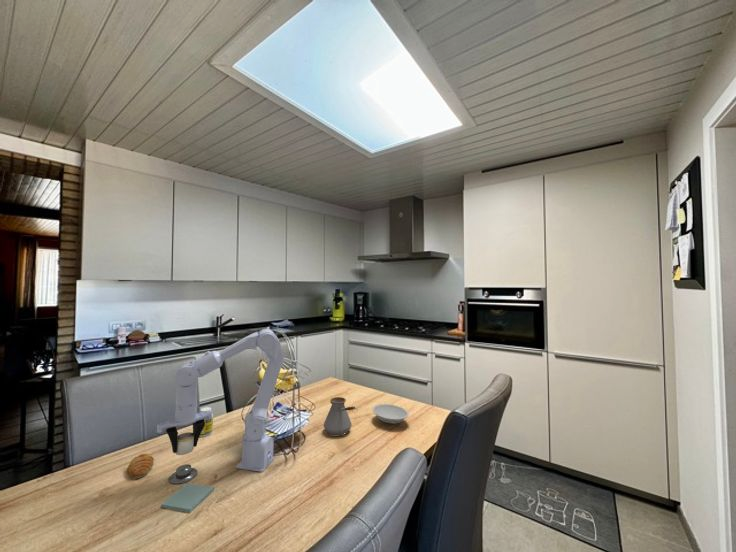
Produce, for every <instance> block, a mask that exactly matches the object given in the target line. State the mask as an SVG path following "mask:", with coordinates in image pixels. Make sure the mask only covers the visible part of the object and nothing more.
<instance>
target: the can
mask: <svg viewBox="0 0 736 552" xmlns="http://www.w3.org/2000/svg"><path fill="white" fill-rule="evenodd" d="M194 448H195V447H194V433H193V431H192V432H191V431H190V432H183V433H180V434H178V436H177V453H174V454H175V455H176V456H184V455H185V456H186V455H189V454H190V453H192V452H193V451H194Z"/></svg>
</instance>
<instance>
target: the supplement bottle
mask: <svg viewBox="0 0 736 552" xmlns="http://www.w3.org/2000/svg"><path fill="white" fill-rule="evenodd" d="M208 411H211V412H212V411H213V410H212V407H210V406H209V407H208V406H207V407H202V408H200V411H199V413H202V412H208ZM204 422H205V426H204V428H203V430H202V432H201V434H200V436H199V438H204V437H208V436H211V434H212V433H213V425H214V414H213V413H212V419H209V420H208V419H206V420H204Z"/></svg>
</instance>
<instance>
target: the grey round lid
mask: <svg viewBox="0 0 736 552" xmlns="http://www.w3.org/2000/svg"><path fill="white" fill-rule="evenodd" d="M198 473H199V472H198V469H196V468H195V467H192V465H191V464H189V463H188V464H186V463H185V464H182V465H179V466H178V467H177V468H176V470H175V471H174V472H173V473H171V474H170V475H169V477H168V482H169V484H171V485H181V484H187V483H189V482H190V481H192V480H194V479H195V478H196V477H197V475H198Z"/></svg>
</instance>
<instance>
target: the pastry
mask: <svg viewBox="0 0 736 552" xmlns="http://www.w3.org/2000/svg"><path fill="white" fill-rule="evenodd" d="M154 461H155V459H154V457H153V456H152V455H150V454H149V453H141V454H139V455H138V456H135V457H134V458H132V460H131V461H130V462H129V465H128V466H127V474H128V476H129V478H130V480H131V479H132V480H137V479H140V478H143V477H146V476H148V474H149V473H150V472H151V471H152V468H153V466H154Z"/></svg>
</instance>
